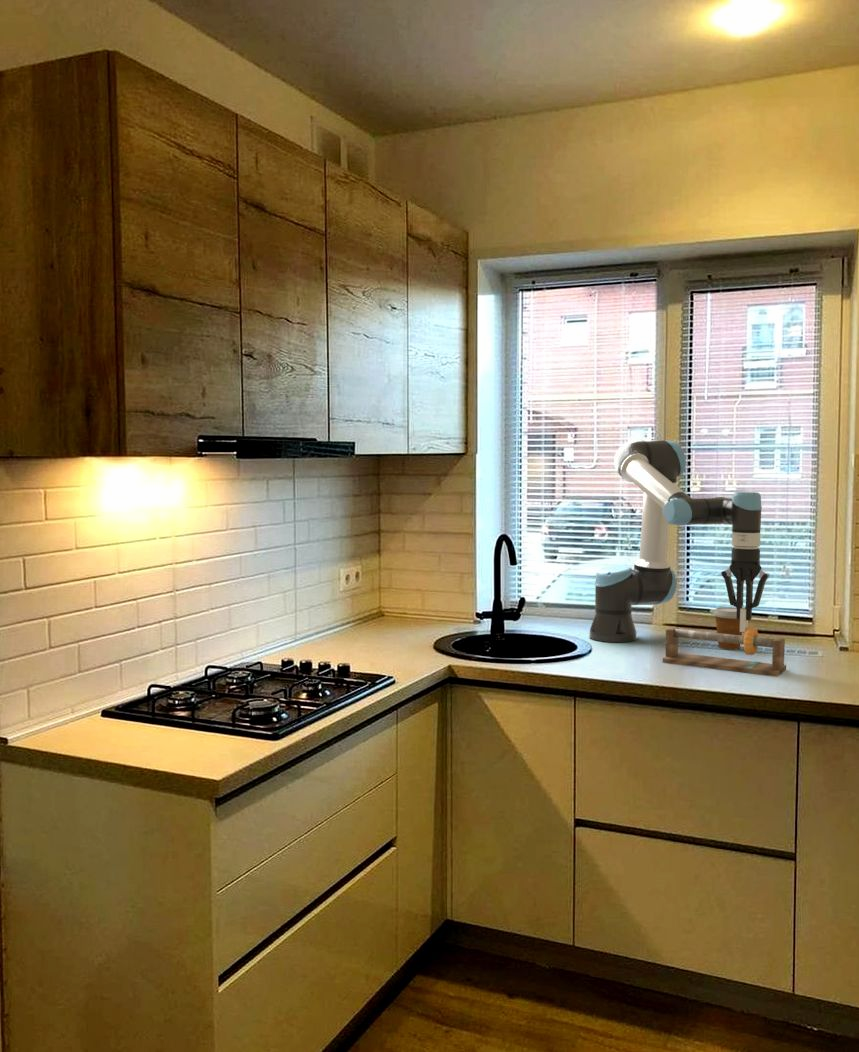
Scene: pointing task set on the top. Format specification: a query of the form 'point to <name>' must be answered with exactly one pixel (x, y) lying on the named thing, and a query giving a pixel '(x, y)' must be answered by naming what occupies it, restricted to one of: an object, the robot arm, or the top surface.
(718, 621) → the disposable coffee cup
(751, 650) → the o-ring
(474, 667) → the top surface
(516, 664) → the top surface
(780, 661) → the pipe stand
